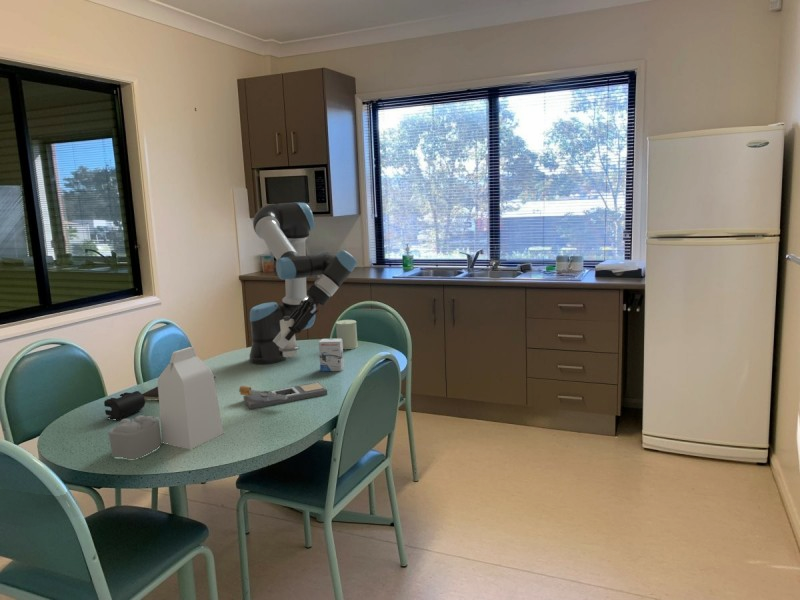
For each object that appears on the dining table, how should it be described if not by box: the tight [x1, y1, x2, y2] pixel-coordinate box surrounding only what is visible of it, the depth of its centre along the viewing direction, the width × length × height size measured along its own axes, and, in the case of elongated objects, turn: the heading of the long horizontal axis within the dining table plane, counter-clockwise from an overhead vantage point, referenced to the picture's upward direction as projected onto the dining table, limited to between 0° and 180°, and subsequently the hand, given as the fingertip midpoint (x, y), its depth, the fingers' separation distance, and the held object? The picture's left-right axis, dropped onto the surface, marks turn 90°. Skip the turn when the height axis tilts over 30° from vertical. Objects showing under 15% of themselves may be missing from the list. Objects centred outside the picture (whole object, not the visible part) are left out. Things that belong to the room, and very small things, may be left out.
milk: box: [157, 346, 224, 450], centre depth 167 cm, size 12×12×26 cm
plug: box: [279, 316, 300, 358], centre depth 198 cm, size 7×7×13 cm
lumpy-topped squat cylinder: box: [108, 414, 162, 459], centre depth 162 cm, size 10×13×9 cm
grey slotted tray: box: [243, 381, 328, 410], centre depth 200 cm, size 10×26×3 cm, turn 115°
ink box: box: [318, 338, 345, 372], centre depth 228 cm, size 9×5×12 cm, turn 84°
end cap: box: [103, 390, 146, 421], centre depth 190 cm, size 10×7×7 cm
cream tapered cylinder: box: [335, 319, 359, 351], centre depth 261 cm, size 9×9×12 cm
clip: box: [238, 385, 288, 400], centre depth 194 cm, size 3×20×3 cm, turn 60°
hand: (277, 345), depth 197 cm, fingers closed on plug, 4 cm apart
